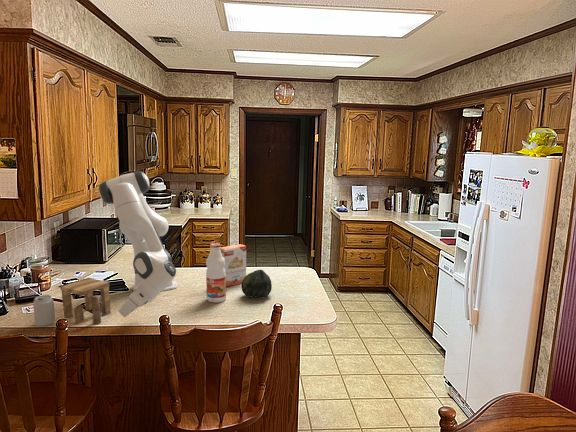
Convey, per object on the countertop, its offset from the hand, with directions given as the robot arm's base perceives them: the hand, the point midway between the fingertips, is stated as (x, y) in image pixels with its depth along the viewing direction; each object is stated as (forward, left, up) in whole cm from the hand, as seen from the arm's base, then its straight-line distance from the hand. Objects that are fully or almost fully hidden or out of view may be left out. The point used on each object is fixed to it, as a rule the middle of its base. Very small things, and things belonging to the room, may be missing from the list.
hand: (125, 312), depth 185 cm
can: (+32, -14, -6) cm, 35 cm away
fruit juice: (-43, -15, -6) cm, 46 cm away
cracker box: (-57, -35, -6) cm, 67 cm away
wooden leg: (+11, -10, -5) cm, 16 cm away
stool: (+15, -17, -5) cm, 24 cm away
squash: (-63, -12, -6) cm, 64 cm away
